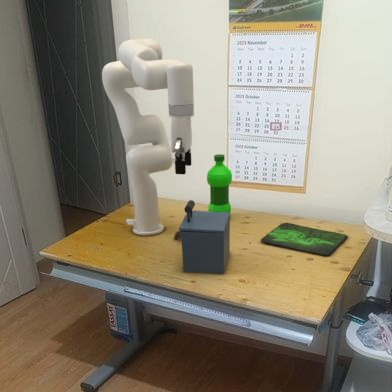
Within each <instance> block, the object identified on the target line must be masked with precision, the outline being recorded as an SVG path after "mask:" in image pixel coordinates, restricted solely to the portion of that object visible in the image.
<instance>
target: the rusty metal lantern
mask: <svg viewBox="0 0 392 392" xmlns="http://www.w3.org/2000/svg"><path fill="white" fill-rule="evenodd" d="M173 239H174V240H178V241H179V242H182V239H181V231H180V230H178V231H176V232H175V233H174V236H173Z"/></svg>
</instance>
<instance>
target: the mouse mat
mask: <svg viewBox="0 0 392 392" xmlns="http://www.w3.org/2000/svg"><path fill="white" fill-rule="evenodd" d="M347 238H348V235H347V234H345V233H340V232H336V231H335V232H334V231H328V230H325V229H318V228H313V227H310V226H304V225H299V224H295V223H291V222H282V223H281V224H279V225H278V226H277V227H275V228H273V229H272V230H271V231H270V232H268V233H267V234H266V235H265V236H263V237H262V238H261V239H260V241H261V242H262V243H265V244H270V245H274V246H278V247H283V248H287V249H291V250H296V251H301V252H305V253H311V254H317V255H321V256H326V257H328V256H331V255H332V254H333V253H334V252H335V251H336V250H337V249H338V248H339V247H341V245H342V244H343V243H344V242H345V241H346V240H347Z"/></svg>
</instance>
